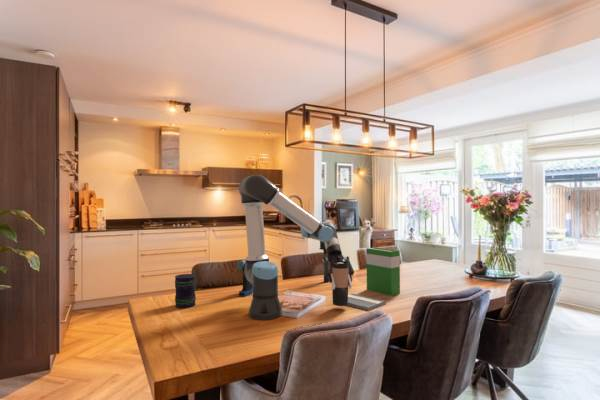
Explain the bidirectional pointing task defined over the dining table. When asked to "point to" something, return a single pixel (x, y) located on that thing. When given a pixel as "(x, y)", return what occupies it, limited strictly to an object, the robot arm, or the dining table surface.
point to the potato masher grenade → (322, 247)
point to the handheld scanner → (244, 280)
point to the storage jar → (185, 291)
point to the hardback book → (383, 270)
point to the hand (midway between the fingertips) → (342, 287)
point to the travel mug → (340, 283)
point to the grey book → (364, 302)
